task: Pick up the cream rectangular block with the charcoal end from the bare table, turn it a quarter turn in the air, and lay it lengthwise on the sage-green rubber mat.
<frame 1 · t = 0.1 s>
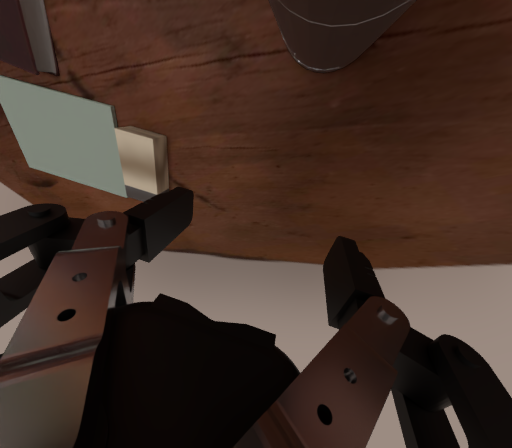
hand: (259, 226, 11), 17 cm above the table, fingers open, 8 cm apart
cream rectangular block: (152, 165, 30), on the table
rubber mat: (67, 140, 31), on the table
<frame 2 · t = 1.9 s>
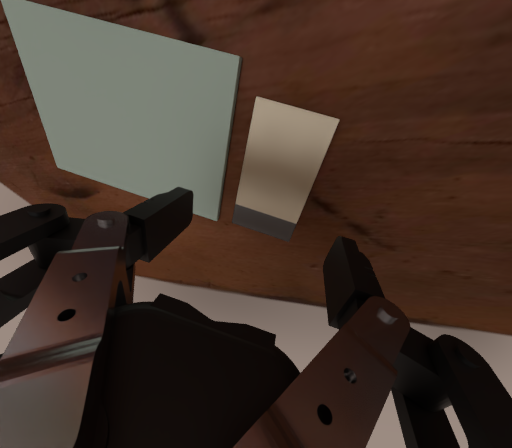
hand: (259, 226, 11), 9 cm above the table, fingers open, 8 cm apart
cream rectangular block: (280, 170, 18), on the table
rubber mat: (130, 125, 19), on the table
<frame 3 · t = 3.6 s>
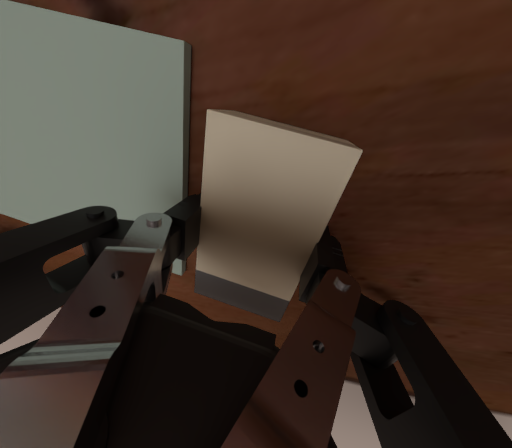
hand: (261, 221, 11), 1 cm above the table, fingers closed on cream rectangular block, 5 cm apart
cream rectangular block: (264, 215, 12), on the table, touching gripper
rubber mat: (49, 150, 13), on the table
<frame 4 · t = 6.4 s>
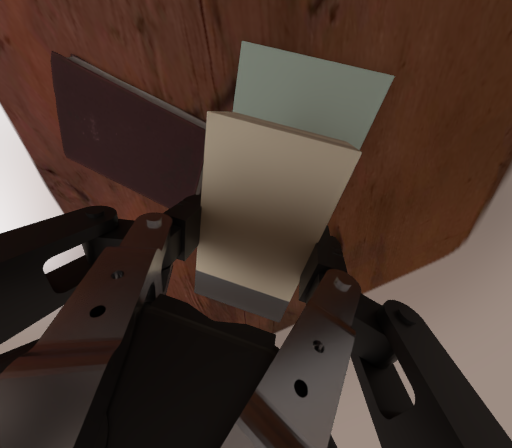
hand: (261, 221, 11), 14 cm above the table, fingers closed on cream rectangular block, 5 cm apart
cream rectangular block: (264, 216, 12), point 13 cm above the table, touching gripper
book: (145, 142, 27), on the table
rubber mat: (284, 165, 23), on the table
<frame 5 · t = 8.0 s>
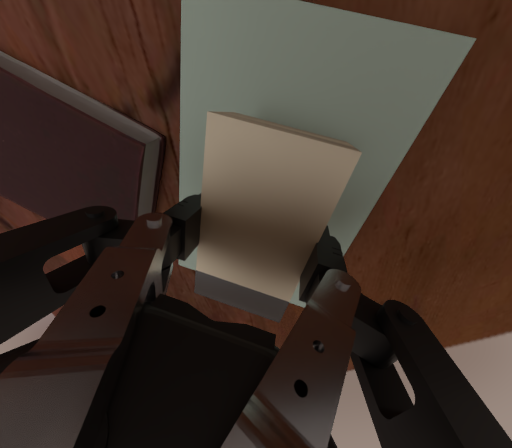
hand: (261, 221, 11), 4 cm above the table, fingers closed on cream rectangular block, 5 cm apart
cream rectangular block: (264, 216, 12), point 3 cm above the table, touching gripper
book: (67, 152, 18), on the table
rubber mat: (268, 194, 15), on the table
when the fingers open (2 cm above the table, at t = 9.3 s): cream rectangular block drops 1 cm, resting on rubber mat.
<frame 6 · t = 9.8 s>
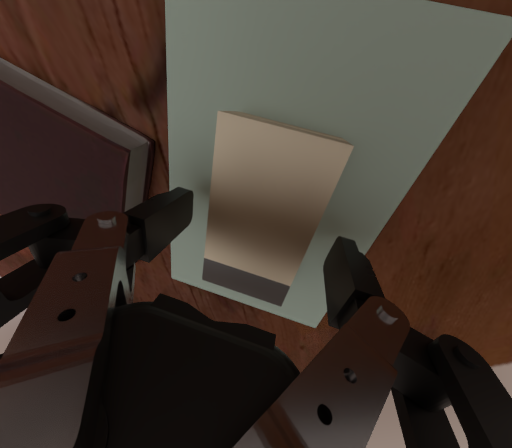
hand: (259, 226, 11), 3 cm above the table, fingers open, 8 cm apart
cream rectangular block: (266, 208, 13), point 1 cm above the table, touching rubber mat
book: (49, 155, 16), on the table
rubber mat: (268, 204, 13), on the table
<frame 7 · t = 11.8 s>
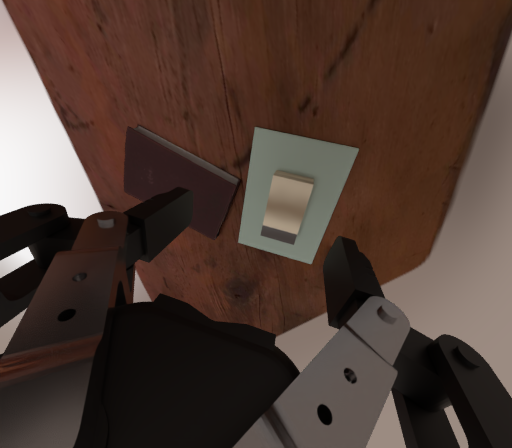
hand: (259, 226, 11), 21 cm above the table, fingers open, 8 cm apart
cream rectangular block: (286, 204, 31), point 1 cm above the table, touching rubber mat
book: (184, 183, 36), on the table
rubber mat: (287, 203, 31), on the table
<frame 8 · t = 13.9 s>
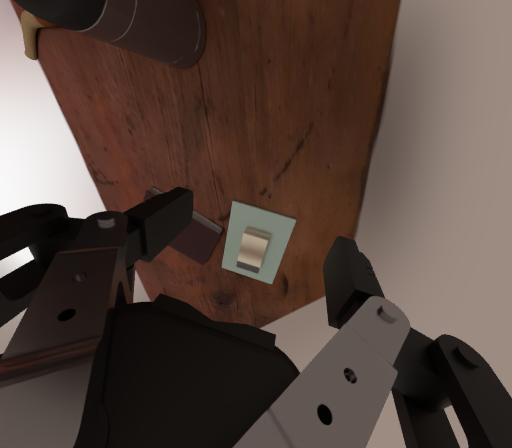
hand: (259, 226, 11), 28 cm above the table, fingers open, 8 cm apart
cream rectangular block: (254, 246, 46), point 1 cm above the table, touching rubber mat
smoking pipe: (62, 25, 34), on the table
book: (183, 225, 50), on the table
rubber mat: (254, 245, 47), on the table
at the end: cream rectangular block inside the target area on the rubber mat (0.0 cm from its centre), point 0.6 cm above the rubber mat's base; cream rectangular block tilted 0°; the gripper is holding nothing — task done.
